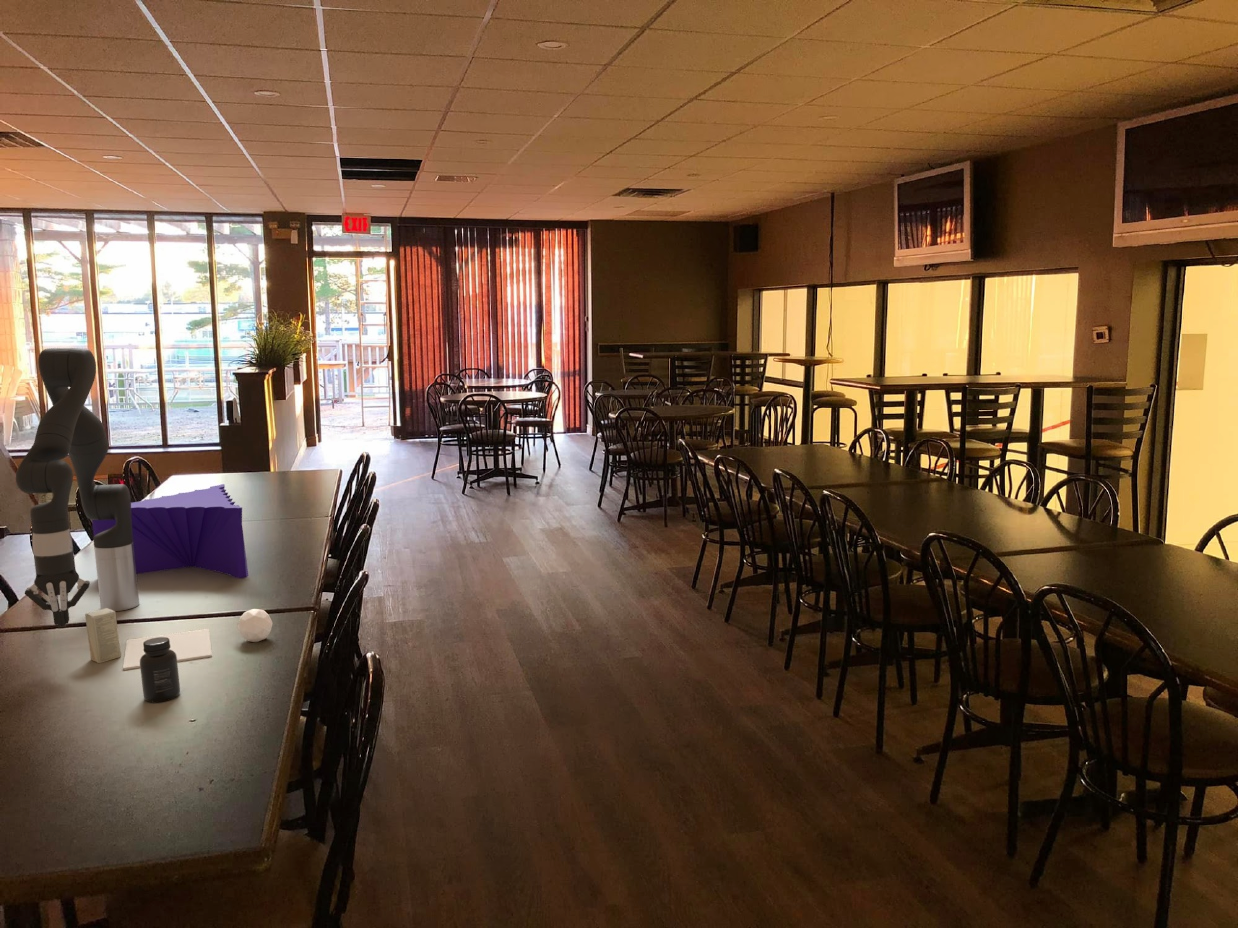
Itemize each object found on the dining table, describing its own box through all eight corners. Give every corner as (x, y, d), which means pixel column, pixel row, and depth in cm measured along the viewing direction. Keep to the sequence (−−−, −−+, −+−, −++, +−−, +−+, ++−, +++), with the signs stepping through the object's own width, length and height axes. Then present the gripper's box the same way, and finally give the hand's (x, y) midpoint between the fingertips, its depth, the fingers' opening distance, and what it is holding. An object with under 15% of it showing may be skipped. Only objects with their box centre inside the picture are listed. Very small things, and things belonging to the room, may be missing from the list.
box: (113, 653, 217) (108, 607, 215) (121, 657, 214) (116, 610, 213) (89, 659, 213) (84, 612, 211) (97, 663, 210) (92, 616, 209)
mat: (127, 641, 224) (127, 639, 224) (209, 630, 232) (208, 628, 232) (123, 670, 206) (122, 667, 206) (211, 656, 214) (211, 654, 214)
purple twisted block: (246, 579, 277) (240, 508, 274) (96, 580, 278) (88, 509, 275) (294, 545, 316) (290, 483, 313) (162, 546, 318) (157, 484, 314)
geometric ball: (261, 647, 227) (278, 617, 230) (261, 646, 220) (278, 615, 222) (232, 635, 225) (248, 604, 228) (230, 633, 218) (247, 601, 221)
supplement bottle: (186, 689, 195) (181, 634, 193) (171, 702, 189) (166, 646, 187) (152, 690, 195) (147, 635, 193) (137, 703, 188) (131, 646, 186)
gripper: (89, 543, 212) (97, 616, 215) (20, 550, 207) (30, 625, 210) (86, 550, 206) (94, 626, 208) (15, 558, 200) (25, 635, 203)
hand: (62, 625), depth 209 cm, fingers closed
